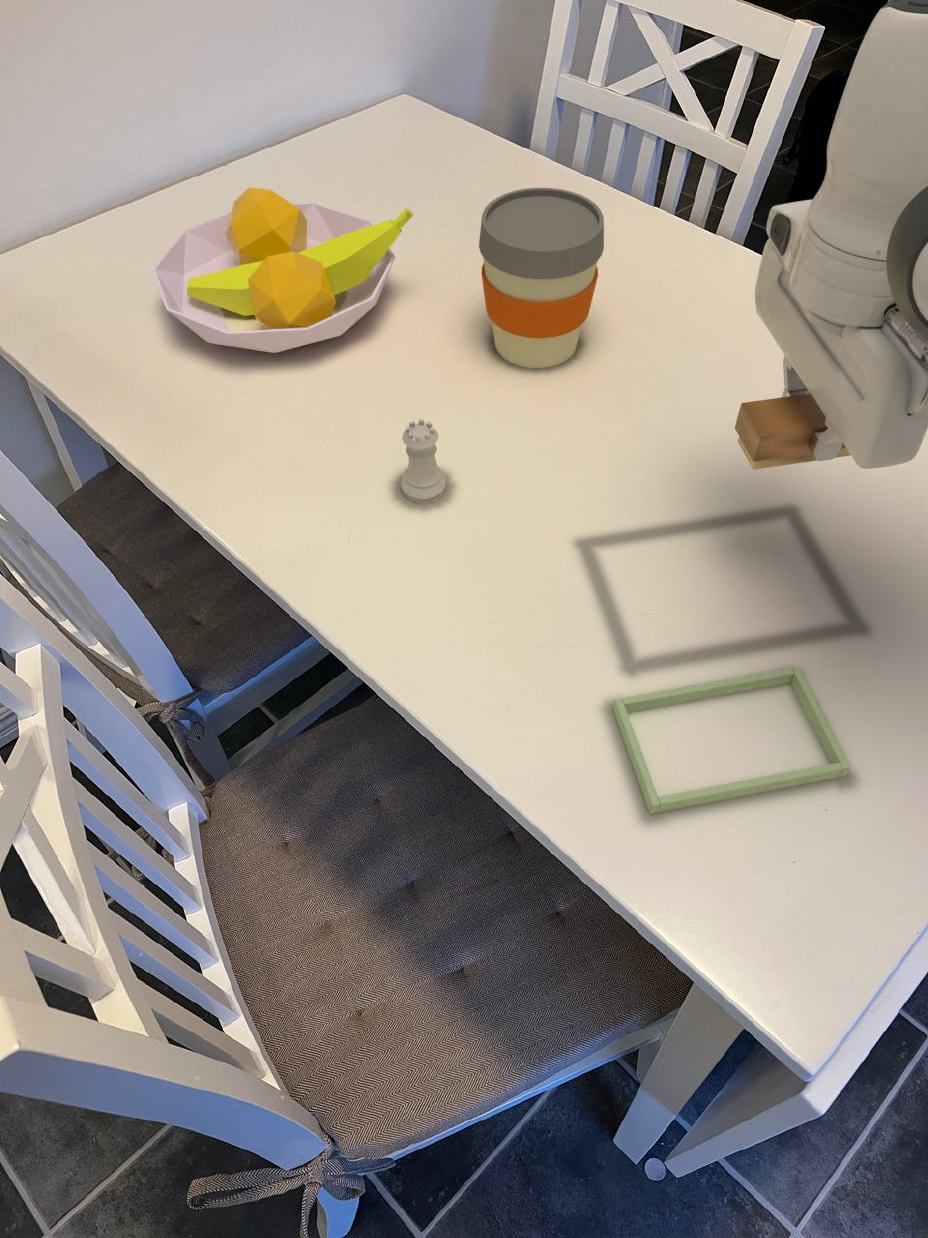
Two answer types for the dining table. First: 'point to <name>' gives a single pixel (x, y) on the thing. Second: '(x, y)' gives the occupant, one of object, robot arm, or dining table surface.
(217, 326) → the fruit bowl
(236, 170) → the dining table surface
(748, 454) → the tan wooden brick
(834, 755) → the rectangular frame
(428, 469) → the rook chess piece
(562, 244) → the reusable coffee cup
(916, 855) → the dining table surface
